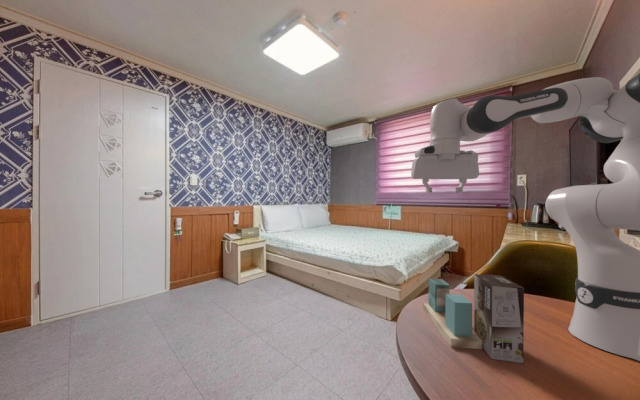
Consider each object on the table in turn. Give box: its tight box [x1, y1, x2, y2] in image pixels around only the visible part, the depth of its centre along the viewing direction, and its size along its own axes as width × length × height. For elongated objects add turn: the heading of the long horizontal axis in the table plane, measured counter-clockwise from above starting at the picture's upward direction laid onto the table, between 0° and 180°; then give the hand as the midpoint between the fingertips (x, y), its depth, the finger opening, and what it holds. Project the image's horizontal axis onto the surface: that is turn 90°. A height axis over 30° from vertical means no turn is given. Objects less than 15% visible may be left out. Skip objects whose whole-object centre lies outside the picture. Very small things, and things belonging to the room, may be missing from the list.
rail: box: [422, 278, 483, 350], centre depth 64 cm, size 7×19×10 cm, turn 175°
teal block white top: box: [445, 293, 473, 337], centre depth 59 cm, size 4×6×8 cm
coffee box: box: [473, 273, 525, 364], centre depth 55 cm, size 9×6×16 cm
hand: (444, 192), depth 77 cm, fingers open, 8 cm apart
